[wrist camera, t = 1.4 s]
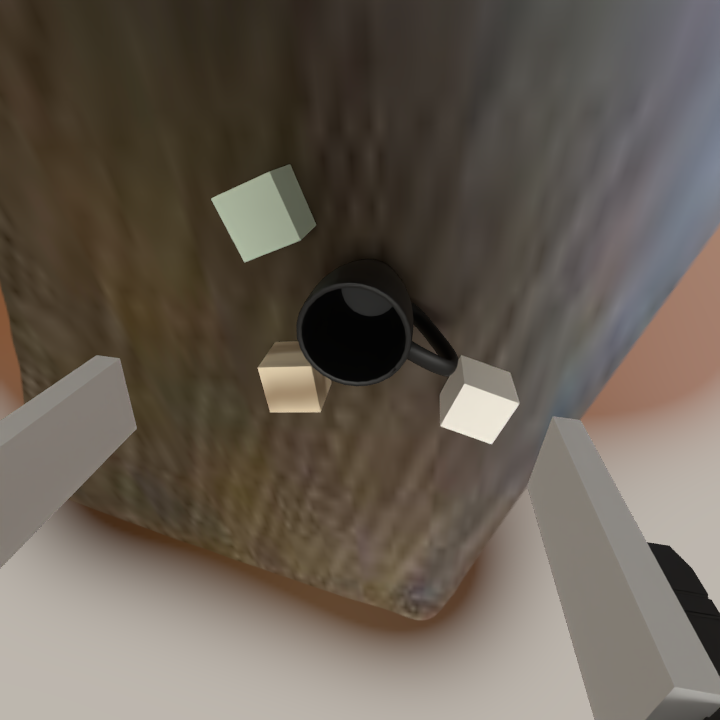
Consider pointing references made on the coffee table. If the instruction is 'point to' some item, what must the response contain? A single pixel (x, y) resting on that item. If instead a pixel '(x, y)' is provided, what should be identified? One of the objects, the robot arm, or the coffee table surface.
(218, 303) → the coffee table surface
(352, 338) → the mug
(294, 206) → the sage cube
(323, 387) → the maple cube
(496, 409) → the cream cube
